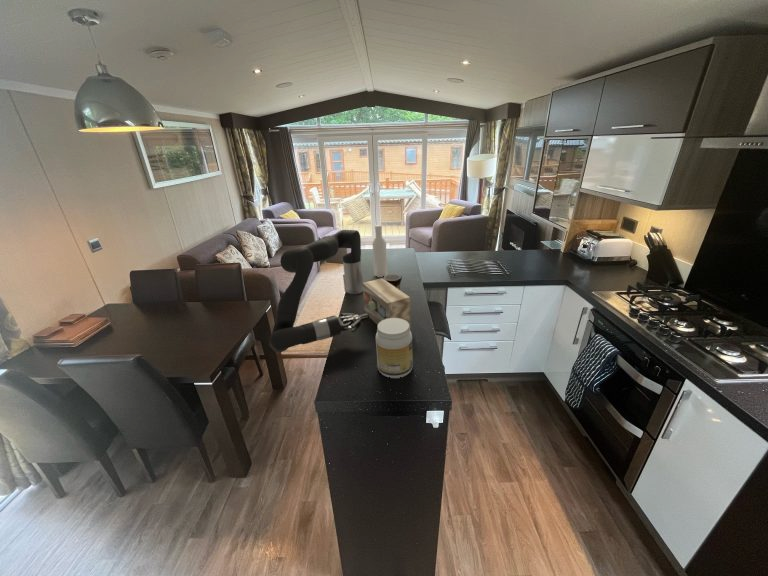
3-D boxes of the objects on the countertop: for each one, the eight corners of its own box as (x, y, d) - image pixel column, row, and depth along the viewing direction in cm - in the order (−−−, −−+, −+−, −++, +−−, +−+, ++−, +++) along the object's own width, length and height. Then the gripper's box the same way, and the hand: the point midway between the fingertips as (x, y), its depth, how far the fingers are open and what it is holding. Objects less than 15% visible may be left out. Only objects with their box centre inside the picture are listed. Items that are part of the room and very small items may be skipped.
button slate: (383, 319, 124) (383, 310, 122) (378, 315, 127) (378, 306, 125) (388, 318, 124) (387, 309, 123) (383, 314, 128) (382, 305, 126)
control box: (389, 336, 125) (387, 303, 119) (364, 312, 145) (362, 282, 138) (410, 329, 129) (409, 297, 123) (383, 307, 149) (382, 278, 142)
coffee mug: (389, 300, 155) (388, 282, 151) (381, 294, 162) (380, 276, 158) (409, 294, 160) (409, 276, 156) (401, 289, 167) (400, 271, 163)
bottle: (387, 277, 183) (384, 226, 171) (373, 277, 184) (370, 227, 172) (387, 272, 190) (385, 223, 178) (375, 272, 191) (372, 224, 179)
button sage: (372, 312, 129) (372, 303, 128) (368, 308, 133) (368, 300, 131) (377, 311, 130) (376, 302, 128) (372, 307, 134) (372, 298, 132)
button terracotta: (367, 305, 136) (367, 296, 134) (364, 301, 139) (363, 293, 138) (372, 304, 137) (371, 295, 135) (368, 300, 140) (367, 292, 138)
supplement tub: (417, 376, 102) (417, 332, 95) (381, 382, 100) (378, 338, 93) (407, 354, 113) (406, 313, 106) (374, 360, 111) (371, 319, 104)
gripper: (330, 327, 108) (375, 314, 115) (319, 312, 119) (360, 301, 126) (332, 345, 111) (376, 332, 118) (321, 329, 122) (362, 317, 129)
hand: (368, 316), depth 122 cm, fingers closed
